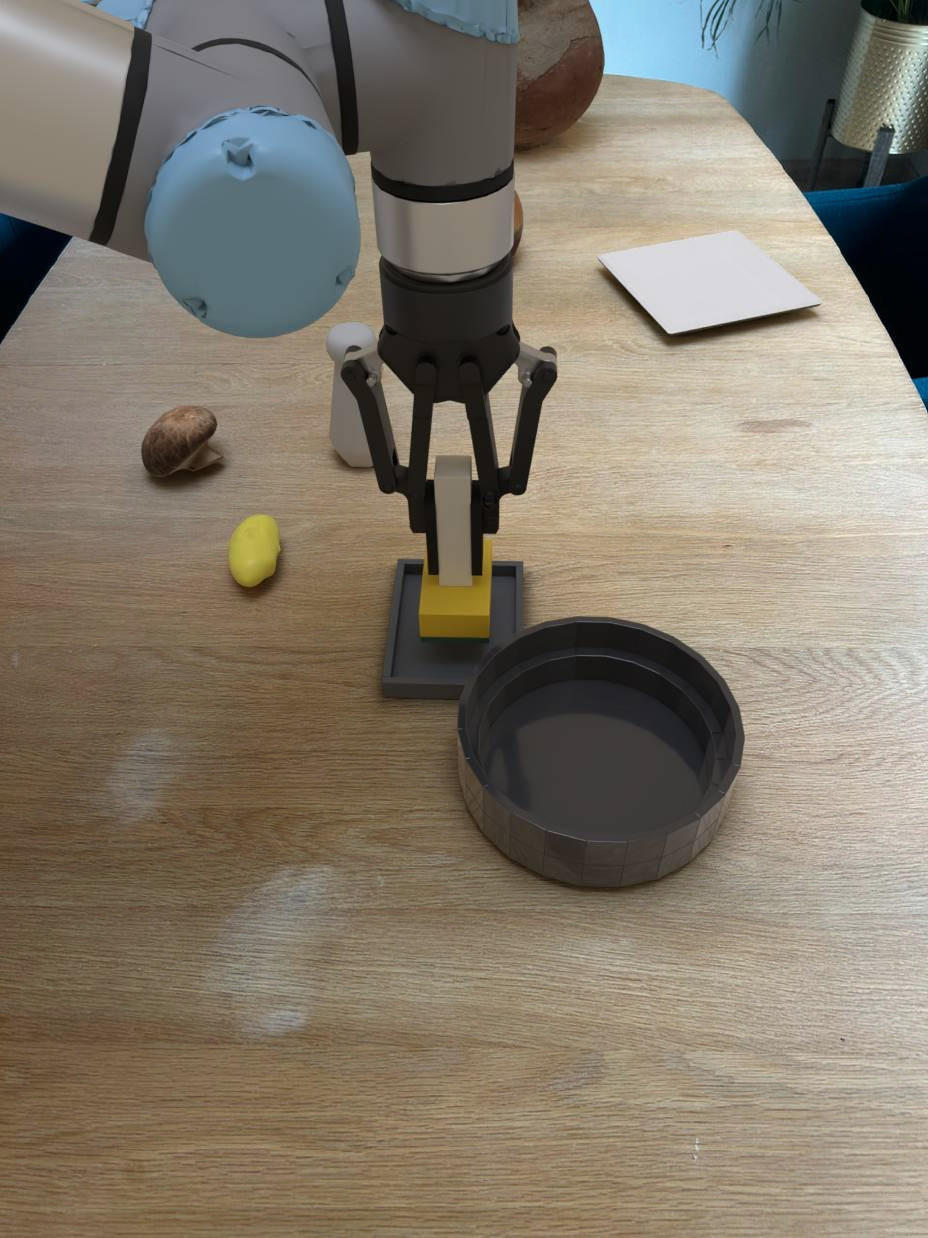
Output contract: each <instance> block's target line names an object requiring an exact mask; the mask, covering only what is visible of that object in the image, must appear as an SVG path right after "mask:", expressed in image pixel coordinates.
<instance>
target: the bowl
mask: <svg viewBox="0 0 928 1238" xmlns="http://www.w3.org/2000/svg"><path fill="white" fill-rule="evenodd" d="M456 723H457V724H456V740H457V742H456V744H457V766H458V767H457V769H458V771H457V772H458V779H459V783H460V788H461V792H462V795H463V799H464V803H465V805H466V808H467V809H468V812H470V814H471V816H472V817H473V819H474V821H475V822H476V824H477V825H478V827H479V829H480V830H481V832H482V833H483V834H484V836H485V837H487V838H488V839H489V841H491V842H492V843H493V844H494V845H495V846H496V847H497V848H498V849H499V850H500V851H502V852H503V853H504V854H505V855H506V856H507V857H508V858H510V859H511V860H513V861H515V862H517V863H519V864H521V865H522V866H524V867H526V868H527V869H529V870H532V871H533V872H535V873H537V874H538V875H541V876H542V877H545V878H549V879H553V880H556V881H561V882H564V883H568V884H571V885H575V886H579V887H580V886H582V887H606V888H607V887H608V888H609V887H610V888H621V887H626V886H631V885H636V884H641V883H645V882H651V881H655V880H659V879H660V878H662V877H664V876H666V875H668V874H670V873H671V872H673V871H676V870H677V869H679V868H681V867H683V866H685V865H687V864H688V863H690V862H691V861H692V860H693V859H694V858H695V857H696V856H697V855H698V854H699V853H700V852H701V851H702V850H703V849H705V848H706V846H708V845H709V844H710V843H711V842H712V840H713V839H714V837H715V836H716V833H717V831H718V829H719V828H720V826H721V824H722V822H723V821H724V818H725V816H726V815H727V812H728V808H729V805H730V803H731V799H732V797H733V793H734V789H735V787H736V784H737V780H738V777H739V773H740V770H741V767H742V762H743V755H744V749H745V742H746V735H745V729H744V725H743V724H744V723H743V718H742V713H741V708H740V706H739V704H738V702H737V700H736V698H735V696H734V694H733V692H732V690H731V689H730V686H729V685H728V683H727V681H726V680H725V678H724V677H723V676H722V675H721V674H720V673H719V672H718V670H717V669H716V668H715V667H714V666H713V665H712V664H711V663H710V662H709V660H707V659H706V657H704V656H703V655H702V654H701V653H699V652H697V651H696V650H695V649H693V648H692V647H690V646H689V645H687V644H686V643H685V642H683V641H682V640H680V639H679V638H677V637H675V635H672V634H669V633H667V632H664V631H662V630H660V629H658V628H654V627H653V626H649V625H647V624H645V623H641V622H636V621H632V620H626V619H622V618H617V617H612V616H590V615H589V616H586V615H585V616H583V615H582V616H581V615H576V616H575V615H574V616H570V617H564V618H558V619H552V620H546V621H545V620H544V621H542V622H539V623H537V624H535V625H531V626H529V627H526V628H523V630H521V631H519V632H516V633H514V634H512V635H511V636H509V637H508V638H507V639H505V640H504V641H502V642H501V643H499V644H498V645H497V646H495V647H494V648H492V649H491V650H490V651H489V652H487V654H486V655H485V656H484V657H483V658H482V660H481V661H480V662H479V663H478V665H477V666H476V667H475V668H474V669H473V671H472V672H471V673H470V675H469V677H468V679H467V682H466V684H465V687H464V689H463V691H462V694H461V696H460V699H458V705H457V721H456Z"/></svg>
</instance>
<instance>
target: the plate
mask: <svg viewBox="0 0 928 1238" xmlns="http://www.w3.org/2000/svg"><path fill="white" fill-rule="evenodd" d="M596 258H597V260H598V261H599V262H600V263H601V264H602V266H603V267H604V268H605V269H606V270H607V271H608V272H609V273H610V274H611V275H612V276H613V277H614V278H615V279H616V281H617V282H618V283H619V284H620V285H621V286H622V287H623V288H624V289H625V290H626V292H627V293H628V294H630V295H631V297H632V298H633V299H634V300H635V301H636V302H637V303H638V305H640V306H641V307H642V308H643V310H644V311H645V312H646V313H647V314H648V315H649V316H650V317H651V318H652V319H653V320H654V322H656V324H658V326H659V327H660V328H661V329H662V330H663V331H664V332H665V333H666V334H667V335H668V336H670V337H671V336H672V337H673V336H678V335H683V334H687V333H688V334H689V333H693V332H698V331H703V330H707V329H713V328H717V327H722V326H727V325H733V324H737V323H742V322H747V321H752V320H753V321H754V320H757V319H762V318H766V317H771V316H772V317H773V316H776V315H781V314H787V313H791V312H796V311H802V310H806V309H811V308H816V307H820V306H821V305H822V304H823V303H824V301H823V300H822V299H821V298H819V297H818V296H817V295H816V294H815V293H813V291H811V290H810V289H809V288H807V287H806V286H805V285H804V284H803V283H802V282H801V281H800V280H798V279H796V277H794V276H793V275H792V274H791V273H790V272H789V271H788V270H786V269H785V268H784V267H782V266H781V265H780V264H779V263H778V262H776V260H774V259H773V258H772V257H771V256H769V255H768V254H767V253H766V252H764V251H763V250H762V249H761V248H760V247H758V245H757V244H755V243H754V242H752V241H751V240H750V239H749V238H748V237H746V236H745V235H744V234H743V233H742V232H741V231H739V230H738V229H737V230H736V229H733V230H728V231H722V232H716V233H710V234H704V235H700V236H694V237H688V238H684V239H683V238H682V239H678V240H673V241H667V242H660V243H654V244H650V245H644V246H638V247H634V248H633V247H631V248H627V249H622V250H617V251H611V252H605V253H601V254H597V256H596Z"/></svg>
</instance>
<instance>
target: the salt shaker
mask: <svg viewBox="0 0 928 1238" xmlns="http://www.w3.org/2000/svg"><path fill="white" fill-rule="evenodd" d="M376 342H378V340H377V336H376V333H375V331H374V329H373V328H372V327H370V326H369V325H367V324H365V323H363V322H358V321H346V322H342V323H339V324H336V325H335V326H334V327H332V328H331V329H330V330H329V331H328V332H327V335H326V337H325V348H326V353H327V354H328V356H329V358H330V360H331V361H332V362H333V363H334V367H333V380H332V390H331V391H332V392H331V404H330V405H331V407H330V419H329V431H328V437H329V441H330V442H331V445H332V446H333V448H334V450H335V451H336V452H337V453H338V454H339V456H340V458H341V459H342V460H343V461H344V462H345V463H346V464H348V466H349V467H351V468H372V467H373V463H372V459H371V455H370V451H369V447H368V443H367V439H366V435H365V431H364V427H363V423H362V419H361V415H360V411H359V407H358V403H357V400H356V398H355V397H354V396H353V394H352V393H351V391H350V390H349V388H348V387H347V386H346V384H345V383H344V381H343V380H342V378H341V369H342V365H343V361H344V356H345V352H346V349H347V348H348V347H349V346H352V345H357V346H359V347H361V348H362V349H363V348H365V347H367V346H369V345H371V344H374V343H376ZM391 427H392V432H394V431H393V430H394V429H393V426H392V425H391Z"/></svg>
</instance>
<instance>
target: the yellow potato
mask: <svg viewBox="0 0 928 1238" xmlns="http://www.w3.org/2000/svg"><path fill="white" fill-rule="evenodd" d="M280 534H281V533H280V528H279V525H278V523H277V521H276V520H275V519H274V518H273V517H272V516H271V515H267V514H253V515H251V516H249V517H247V518H245V519H244V520H243V521H242V522H241V523H240V524H239V525H238V526H237V527H236V529H235V530H234V532H233V533H232V535H231V538H230V541H229V546H228V553H227V555H228V556H227V557H228V558H227V559H228V560H227V561H228V562H227V563H228V567H229V571H230V573H231V576H232V577H233V579H234V580H235V581H236V583H237V584H239V585H241V586H243V587H245V588H253V587H255V586H258V585H260V584H261V583H262V581H264V580H265V579H267V578H270V577H272V576H273V575H274V573H275V571H276V568H277V567H276V566H277V561H278V555H279V553H280V552H281V550H282V549H281V547H280V538H281V537H280V536H281V535H280Z"/></svg>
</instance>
